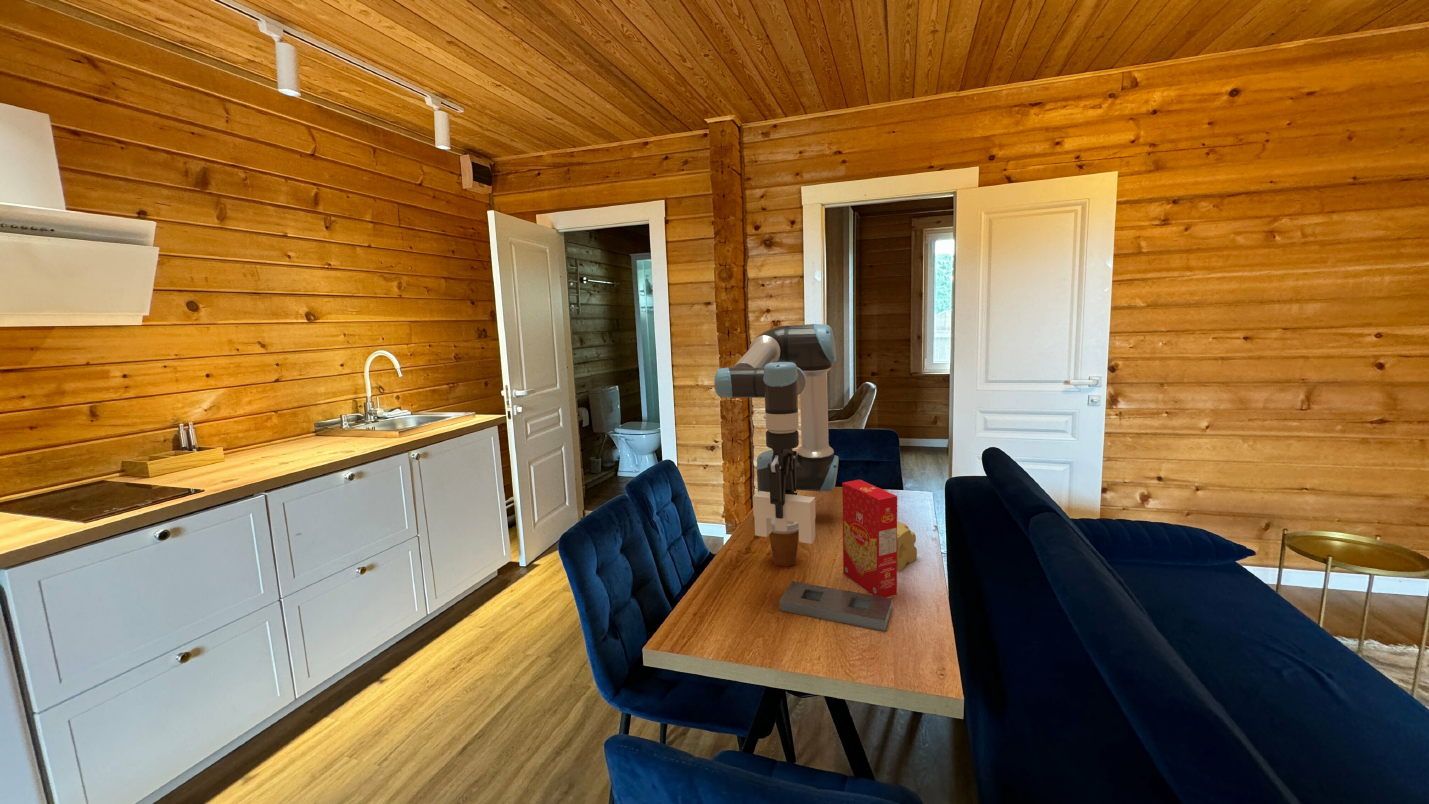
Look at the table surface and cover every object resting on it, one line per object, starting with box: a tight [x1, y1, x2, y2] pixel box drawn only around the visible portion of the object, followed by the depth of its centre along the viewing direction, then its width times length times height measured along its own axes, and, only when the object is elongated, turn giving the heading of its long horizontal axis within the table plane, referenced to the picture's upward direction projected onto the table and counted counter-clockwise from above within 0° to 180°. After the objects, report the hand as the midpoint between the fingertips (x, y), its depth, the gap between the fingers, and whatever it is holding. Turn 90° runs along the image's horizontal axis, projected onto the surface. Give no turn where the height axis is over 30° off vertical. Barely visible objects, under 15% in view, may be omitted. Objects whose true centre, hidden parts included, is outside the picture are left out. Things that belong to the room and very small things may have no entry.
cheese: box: [897, 520, 918, 572], centre depth 152 cm, size 10×11×10 cm
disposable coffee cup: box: [768, 519, 799, 567], centre depth 154 cm, size 10×10×12 cm
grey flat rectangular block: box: [778, 580, 893, 632], centre depth 129 cm, size 24×10×2 cm, turn 65°
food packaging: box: [841, 479, 898, 598], centre depth 138 cm, size 15×5×25 cm, turn 21°
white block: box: [752, 491, 816, 545], centre depth 131 cm, size 14×4×10 cm, turn 63°
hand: (784, 526), depth 131 cm, fingers closed on white block, 4 cm apart
